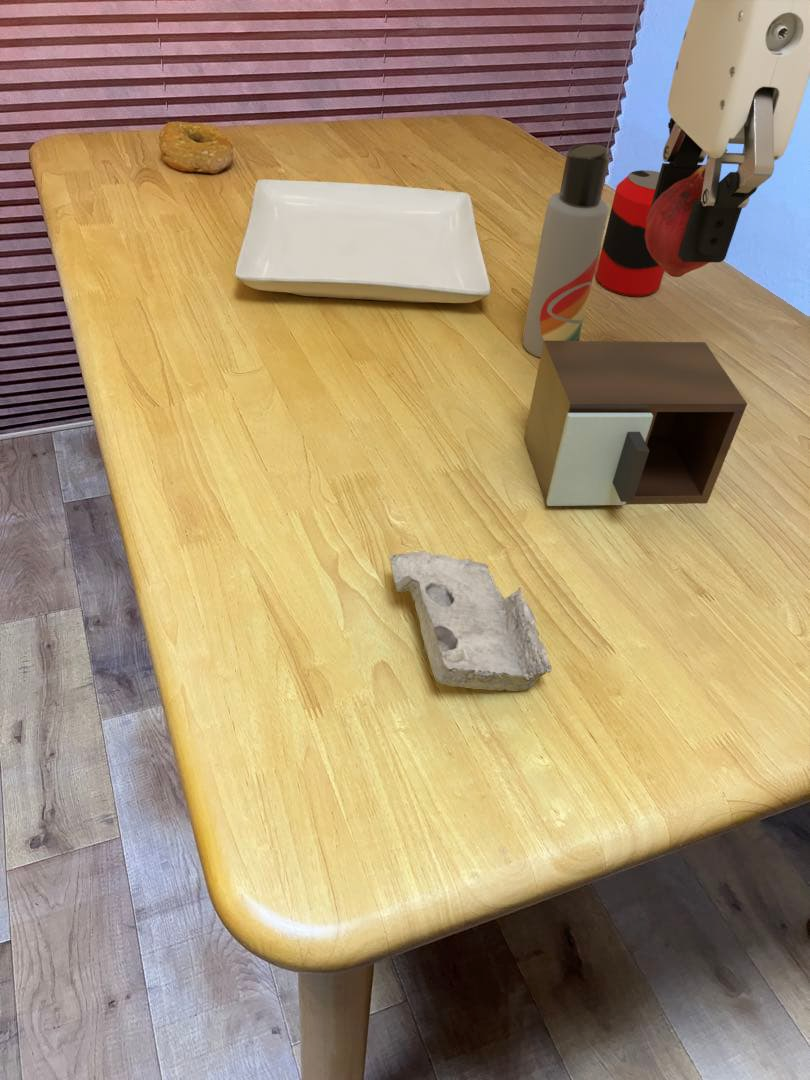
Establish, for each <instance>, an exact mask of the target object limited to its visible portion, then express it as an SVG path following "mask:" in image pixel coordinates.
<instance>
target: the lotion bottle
mask: <svg viewBox="0 0 810 1080" xmlns="http://www.w3.org/2000/svg"><path fill="white" fill-rule="evenodd" d="M610 161H611V159H610V156H609V154H608V149H607V148H606V147H605V146H602V145H598V144H586V143H582V144H576V145H573V146H572V147H570V148H569V149H568V150H567V153H566V157H565V163H564V169H563V173H562V174H563V175H562V179H561V184H560V185H561V186H560V191H559V192H557V193H554V194H552V195H551V196H550V197H549V198H548V200H547V204H546V209H545V214H544V219H543V225H542V230H541V235H540V241H539V246H538V250H537V251H538V252H537V258H536V263H535V269H534V273H533V280H532V284H531V290H530V295H529V300H528V306H527V312H526V317H525V323H524V329H523V335H522V346H523V347H524V349H525V350H526V351H527V352H528V353H529V354H531V355H533V356H534V357H537V358H539V359H540V357H541V352H542V347H543V342H544V341H580V337H581V332H582V327H583V324H584V319H585V315H586V312H587V311H586V310H587V307H588V303H589V302H588V301H589V298H590V294H591V290H592V285H593V281H594V277H595V273H596V272H595V271H596V269H597V268H596V267H597V265H598V264H597V263H598V259H599V256H600V255H599V254H600V251H601V248H602V247H601V246H602V240H603V239H604V235H605V234H604V233H605V229H606V225H607V221H608V220H607V219H608V215H609V205H608V203H607V202H605V200H604V199H602V194H603V190H604V185H605V180H606V178H607V173H608V169H609V165H610Z"/></svg>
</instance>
